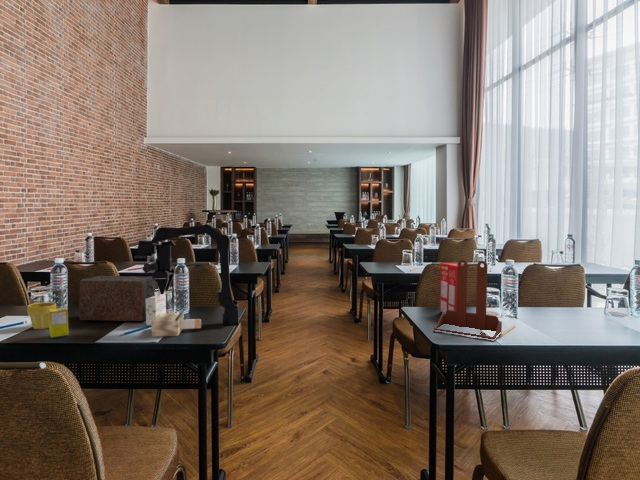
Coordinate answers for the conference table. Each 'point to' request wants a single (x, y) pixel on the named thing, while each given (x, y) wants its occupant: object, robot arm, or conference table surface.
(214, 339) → the conference table surface
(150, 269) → the robot arm
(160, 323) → the tan box with rod
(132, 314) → the decorative box
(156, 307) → the ink cartridge box
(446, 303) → the food packaging
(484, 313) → the hanging shelf
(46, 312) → the plant pot
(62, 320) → the supplement box
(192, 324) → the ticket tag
